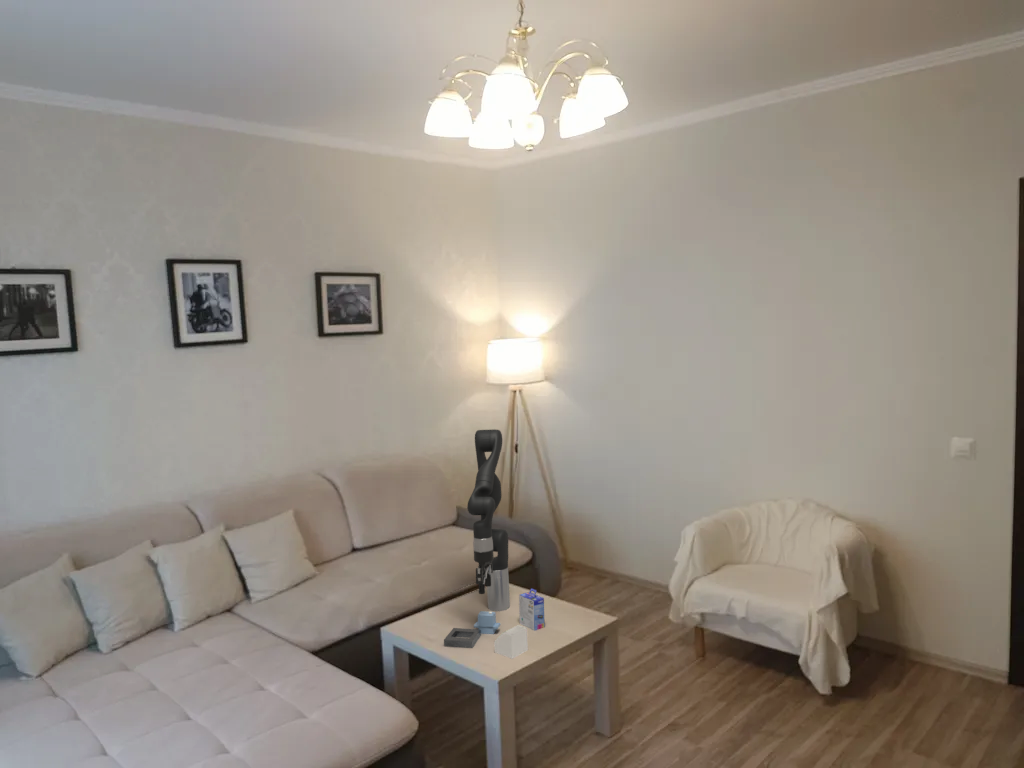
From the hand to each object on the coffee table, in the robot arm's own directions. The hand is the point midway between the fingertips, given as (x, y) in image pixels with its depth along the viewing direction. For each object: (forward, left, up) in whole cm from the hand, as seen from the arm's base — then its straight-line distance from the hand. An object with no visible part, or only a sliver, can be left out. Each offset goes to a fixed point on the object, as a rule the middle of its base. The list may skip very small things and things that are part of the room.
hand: (485, 589), depth 273 cm
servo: (0, 0, -17) cm, 17 cm away
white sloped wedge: (+12, +15, -17) cm, 26 cm away
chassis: (+9, -7, -17) cm, 20 cm away
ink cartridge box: (-8, +16, -17) cm, 25 cm away
